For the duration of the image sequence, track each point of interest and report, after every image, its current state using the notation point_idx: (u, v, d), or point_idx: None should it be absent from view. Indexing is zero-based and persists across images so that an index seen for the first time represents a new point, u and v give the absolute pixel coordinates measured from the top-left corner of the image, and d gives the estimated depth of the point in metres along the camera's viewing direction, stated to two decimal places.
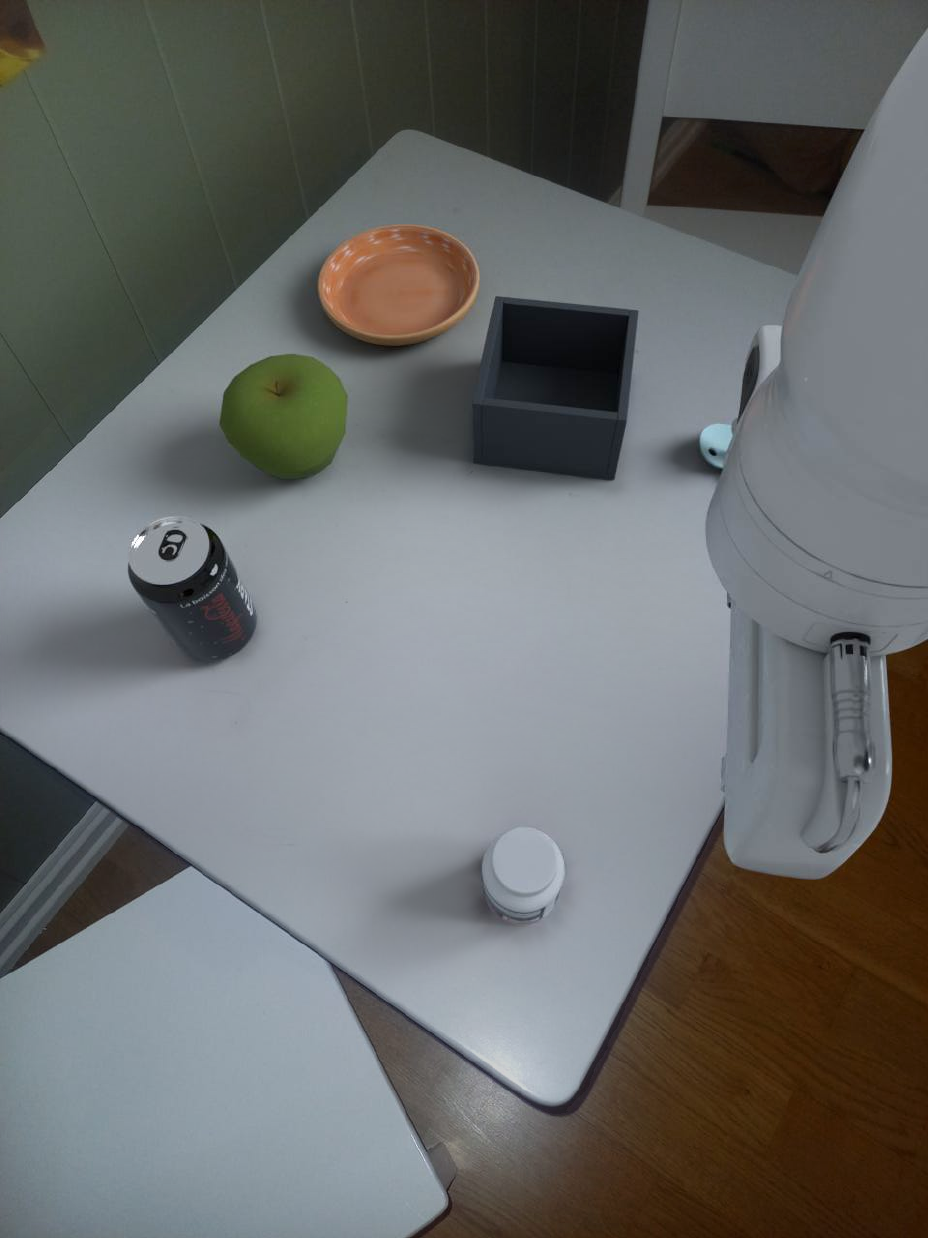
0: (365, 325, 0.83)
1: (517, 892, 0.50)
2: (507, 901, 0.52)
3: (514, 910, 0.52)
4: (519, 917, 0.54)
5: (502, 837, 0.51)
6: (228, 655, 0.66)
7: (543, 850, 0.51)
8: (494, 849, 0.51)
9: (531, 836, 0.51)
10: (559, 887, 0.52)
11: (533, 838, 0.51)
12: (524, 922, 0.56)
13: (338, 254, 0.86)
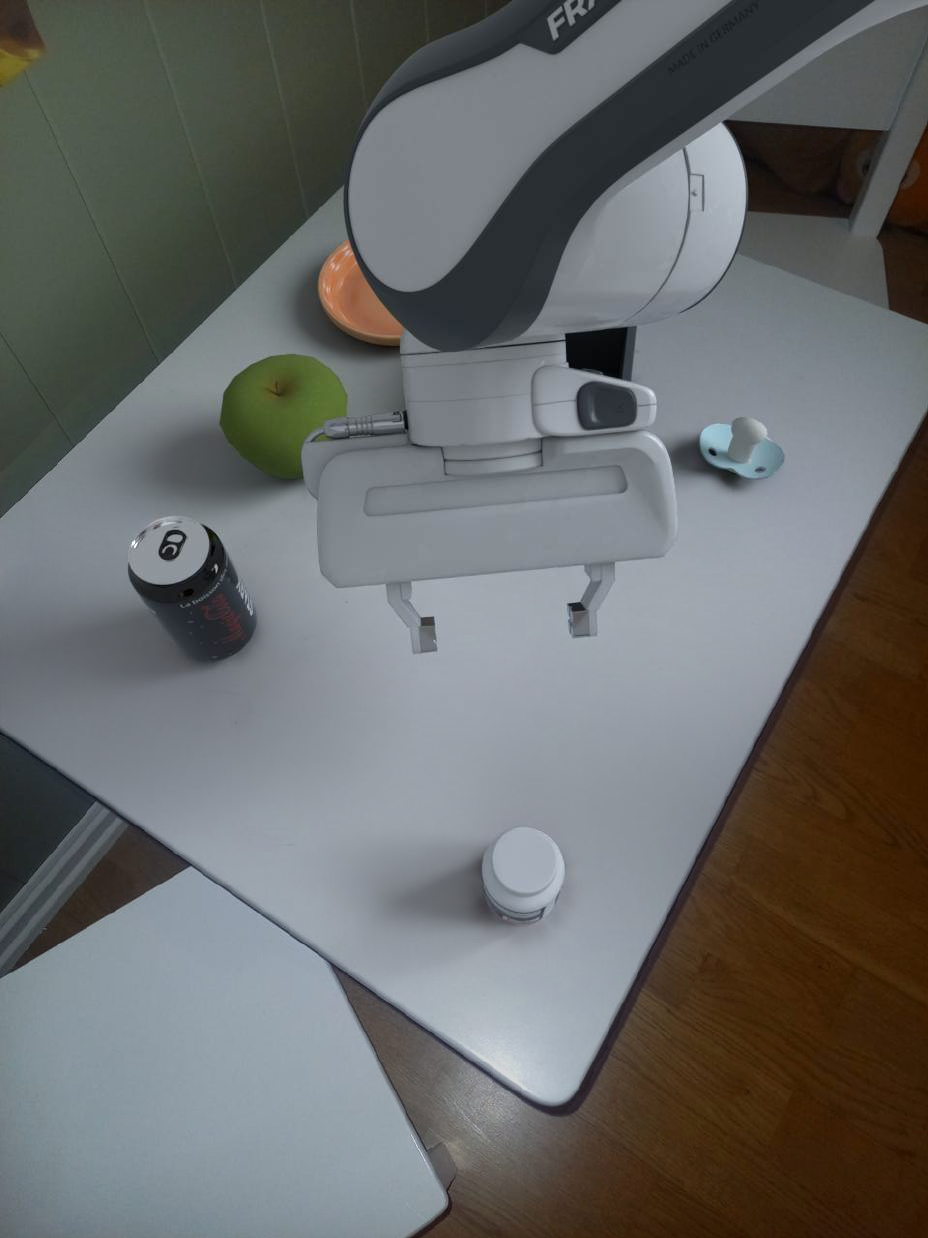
0: (365, 325, 0.83)
1: (517, 892, 0.50)
2: (507, 901, 0.52)
3: (514, 910, 0.52)
4: (519, 917, 0.54)
5: (502, 837, 0.51)
6: (228, 655, 0.66)
7: (543, 850, 0.51)
8: (494, 849, 0.51)
9: (531, 836, 0.51)
10: (559, 887, 0.52)
11: (533, 838, 0.51)
12: (524, 922, 0.56)
13: (338, 254, 0.86)
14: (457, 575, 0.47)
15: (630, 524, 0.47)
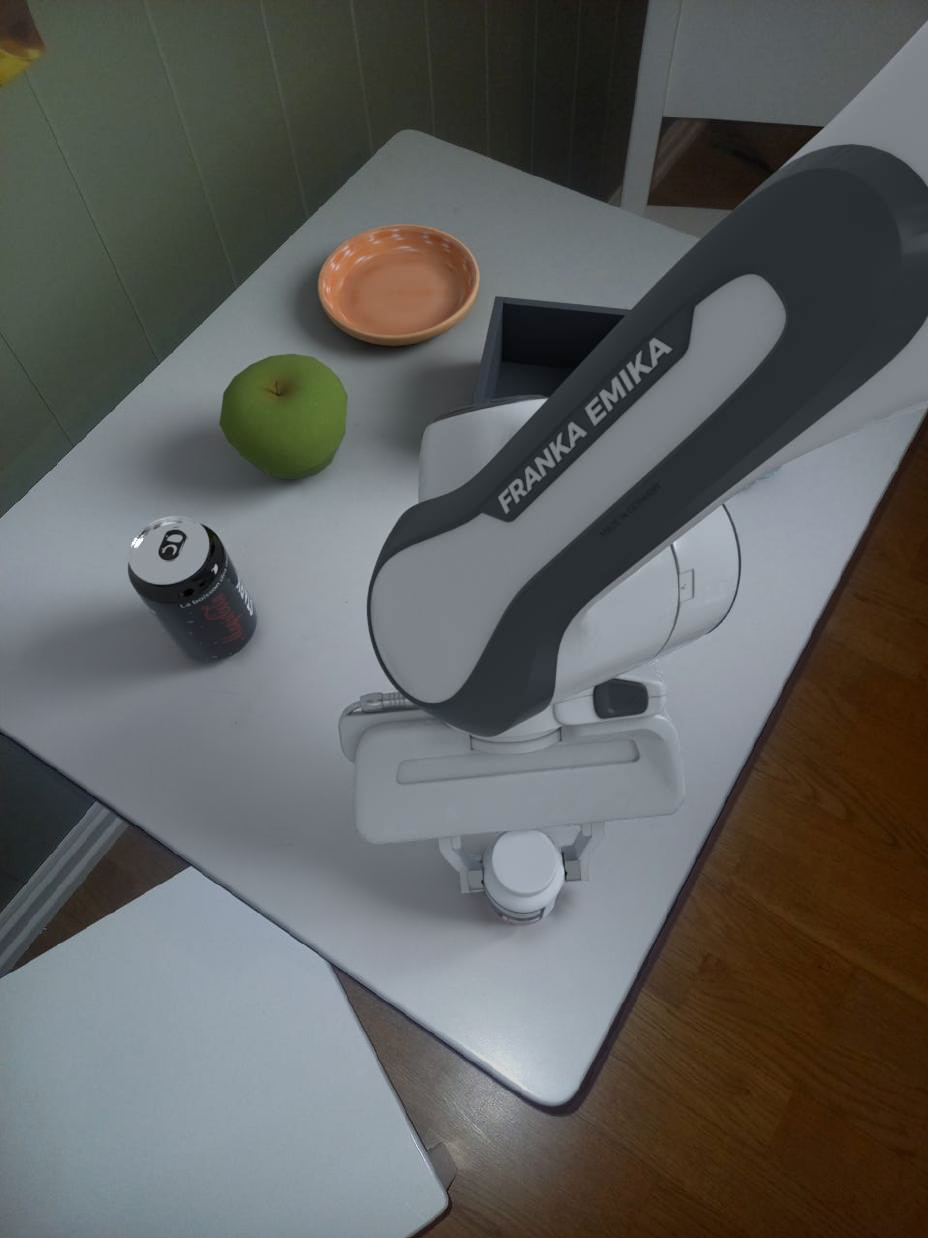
0: (365, 325, 0.83)
1: (517, 892, 0.50)
2: (506, 901, 0.52)
3: (514, 910, 0.52)
4: (519, 917, 0.54)
5: (502, 837, 0.51)
6: (228, 655, 0.66)
7: (542, 850, 0.51)
8: (494, 849, 0.51)
9: (531, 836, 0.51)
10: (559, 887, 0.52)
11: (533, 838, 0.51)
12: (524, 922, 0.56)
13: (338, 253, 0.85)
14: (482, 833, 0.51)
15: (642, 789, 0.50)
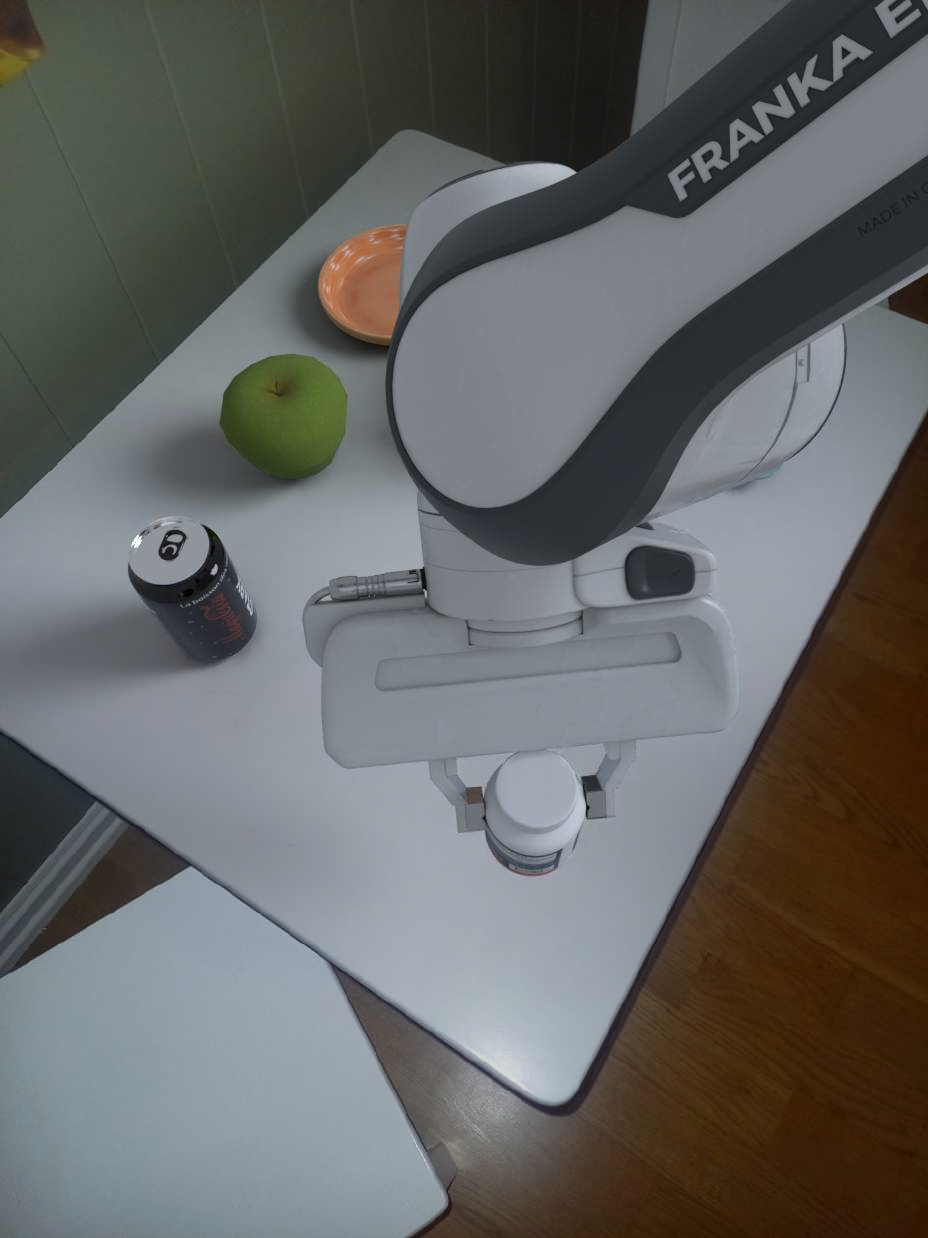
0: (365, 325, 0.83)
1: (527, 826, 0.40)
2: (514, 841, 0.42)
3: (523, 852, 0.42)
4: (529, 863, 0.44)
5: (508, 760, 0.41)
6: (228, 655, 0.66)
7: (559, 776, 0.41)
8: (498, 774, 0.41)
9: (544, 759, 0.41)
10: (579, 824, 0.42)
11: (547, 761, 0.41)
12: (535, 872, 0.46)
13: (338, 253, 0.85)
14: (483, 754, 0.41)
15: (684, 697, 0.40)
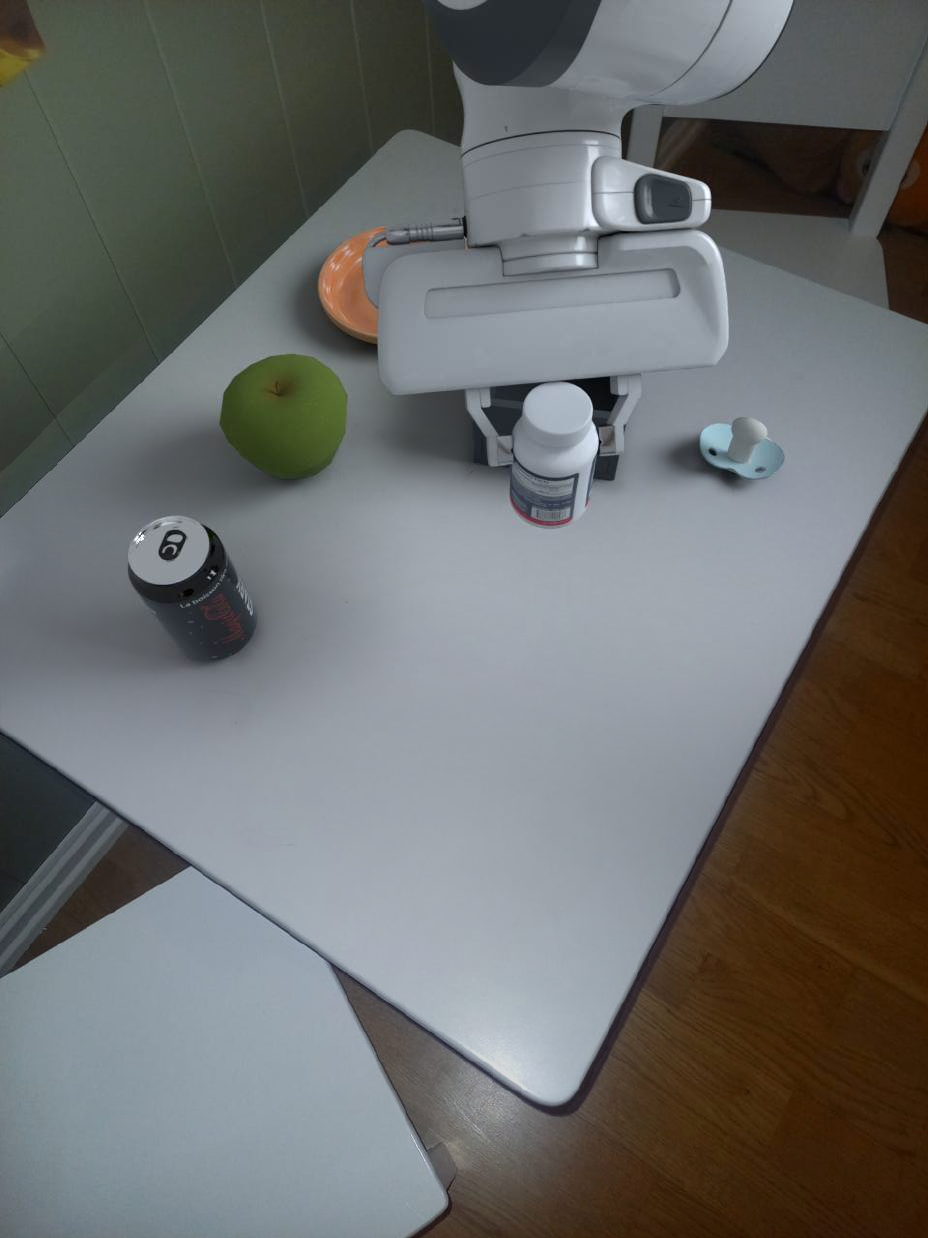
0: (365, 325, 0.83)
1: (551, 434, 0.47)
2: (538, 461, 0.49)
3: (546, 473, 0.50)
4: (550, 496, 0.51)
5: (534, 389, 0.49)
6: (228, 655, 0.66)
7: (577, 399, 0.48)
8: (526, 399, 0.48)
9: (564, 388, 0.49)
10: (593, 451, 0.50)
11: (566, 390, 0.49)
12: (554, 516, 0.53)
13: (338, 253, 0.85)
14: (513, 381, 0.48)
15: (682, 329, 0.48)
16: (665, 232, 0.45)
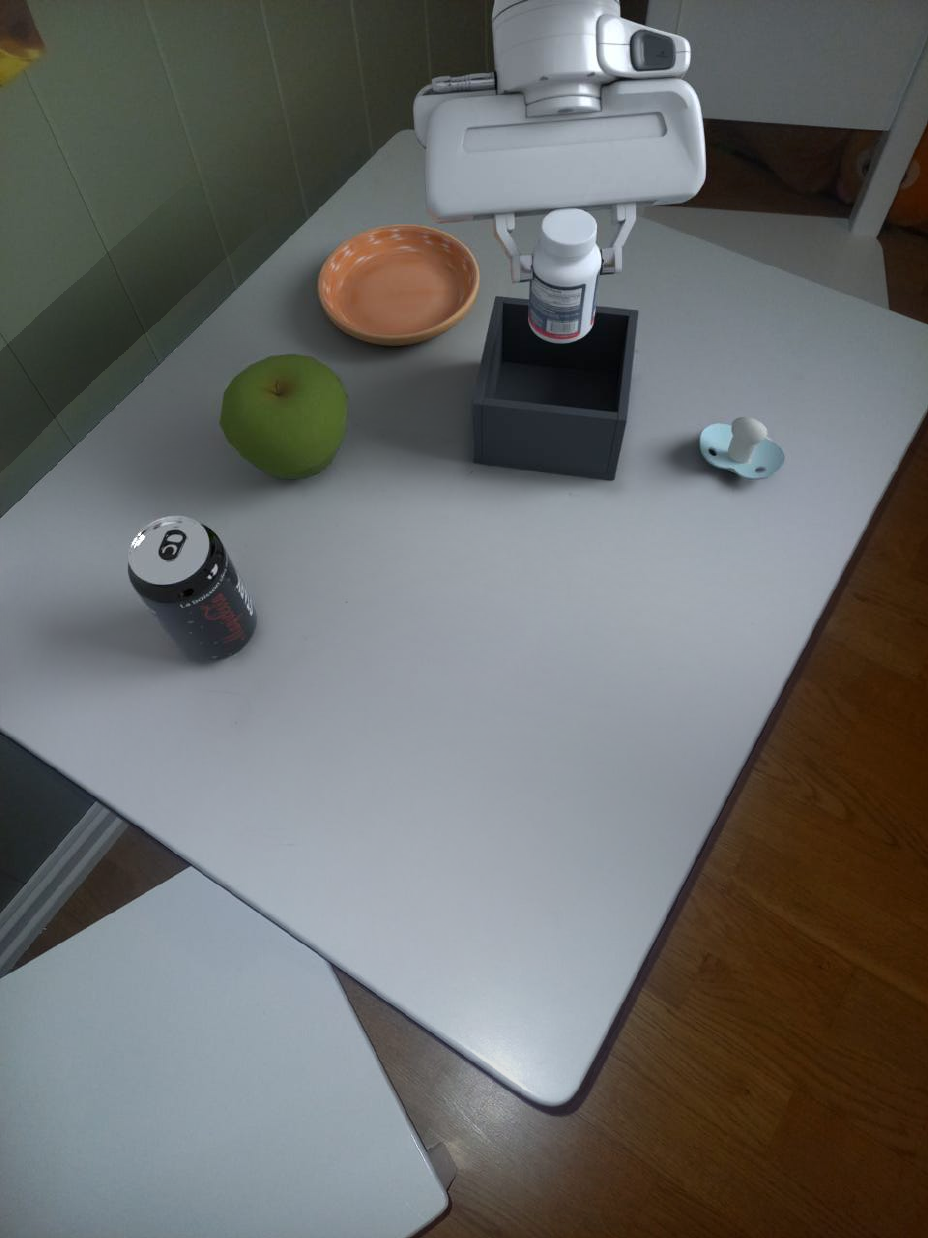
0: (365, 325, 0.83)
1: (563, 245, 0.59)
2: (553, 272, 0.61)
3: (559, 283, 0.62)
4: (562, 307, 0.63)
5: (550, 213, 0.61)
6: (228, 655, 0.66)
7: (584, 220, 0.60)
8: (543, 220, 0.60)
9: (574, 212, 0.61)
10: (597, 266, 0.62)
11: (576, 213, 0.61)
12: (565, 329, 0.65)
13: (338, 253, 0.85)
14: (533, 206, 0.60)
15: (669, 163, 0.60)
16: (654, 79, 0.58)
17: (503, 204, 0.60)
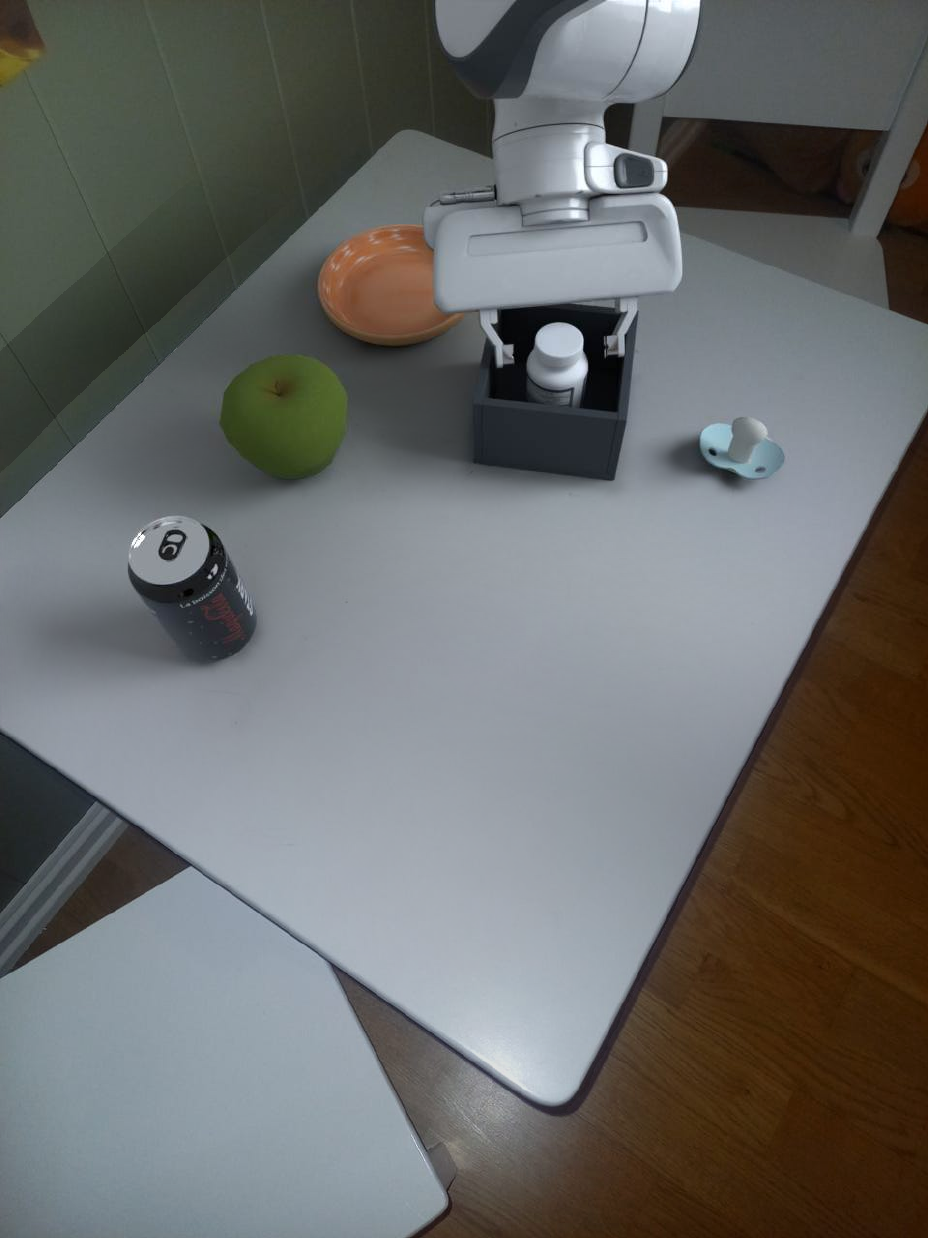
0: (365, 325, 0.83)
1: (554, 357, 0.69)
2: (546, 378, 0.71)
3: (551, 387, 0.71)
4: None
5: (542, 327, 0.70)
6: (228, 655, 0.66)
7: (572, 334, 0.70)
8: (537, 334, 0.70)
9: (564, 326, 0.70)
10: (584, 372, 0.71)
11: (565, 328, 0.70)
12: None
13: (338, 253, 0.85)
14: (529, 302, 0.68)
15: (649, 265, 0.67)
16: (636, 194, 0.65)
17: (502, 301, 0.68)
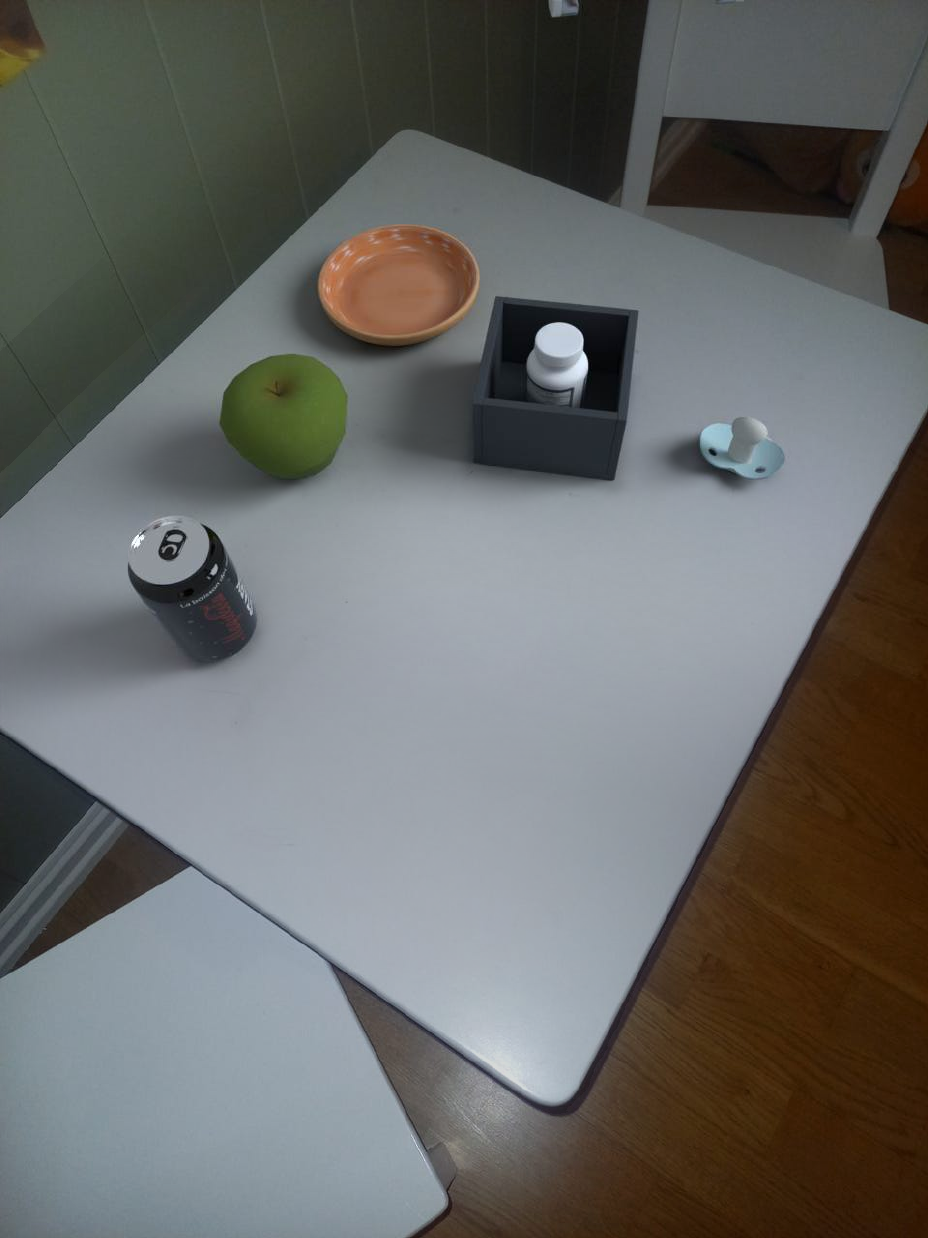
0: (365, 325, 0.83)
1: (554, 357, 0.69)
2: (546, 378, 0.71)
3: (551, 387, 0.71)
4: None
5: (542, 327, 0.70)
6: (228, 655, 0.66)
7: (572, 334, 0.70)
8: (537, 334, 0.70)
9: (564, 327, 0.70)
10: (584, 372, 0.71)
11: (565, 328, 0.70)
12: None
13: (338, 253, 0.85)
14: None
15: None
16: None
17: None
